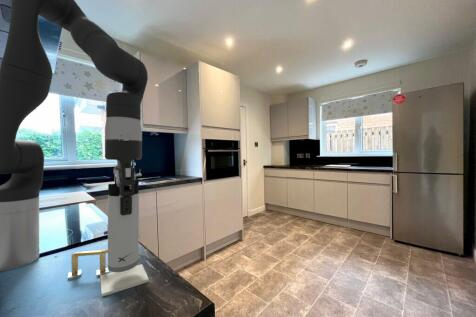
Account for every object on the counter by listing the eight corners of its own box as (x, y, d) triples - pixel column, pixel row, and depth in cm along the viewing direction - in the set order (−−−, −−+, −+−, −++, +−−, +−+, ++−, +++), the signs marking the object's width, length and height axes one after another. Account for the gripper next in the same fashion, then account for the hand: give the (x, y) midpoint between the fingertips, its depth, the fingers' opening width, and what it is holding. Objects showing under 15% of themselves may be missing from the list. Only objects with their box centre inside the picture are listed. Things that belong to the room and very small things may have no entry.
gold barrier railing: (66, 285, 45) (66, 260, 45) (68, 275, 49) (68, 252, 49) (133, 267, 53) (133, 245, 53) (130, 259, 57) (130, 239, 57)
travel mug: (126, 274, 44) (127, 181, 44) (100, 271, 45) (100, 180, 45) (145, 260, 50) (145, 178, 50) (122, 257, 51) (122, 177, 51)
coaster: (101, 296, 42) (101, 294, 42) (100, 278, 48) (100, 275, 48) (148, 281, 47) (148, 279, 47) (141, 266, 54) (141, 264, 54)
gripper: (103, 140, 51) (103, 207, 51) (106, 135, 40) (106, 222, 40) (136, 141, 56) (136, 203, 56) (148, 137, 44) (148, 215, 44)
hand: (124, 210), depth 48 cm, fingers closed on travel mug, 6 cm apart
